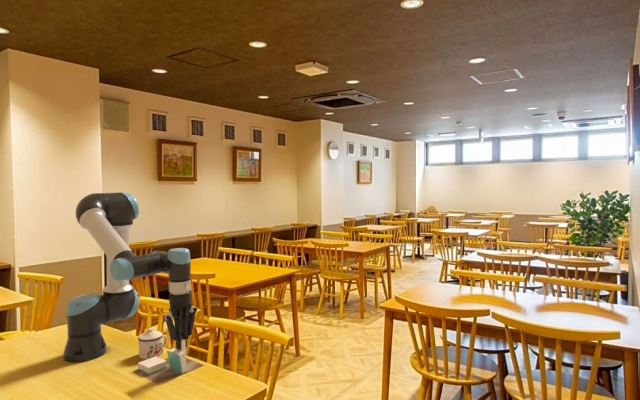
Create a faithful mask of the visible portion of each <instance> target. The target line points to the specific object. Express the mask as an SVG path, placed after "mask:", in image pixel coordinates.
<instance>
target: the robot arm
mask: <svg viewBox="0 0 640 400" xmlns="http://www.w3.org/2000/svg"><path fill="white" fill-rule="evenodd" d="M139 207H140V206H139V203H138V200H137V199H136V197H135V195H133V194H132V193H130V192H121V191H120V192H103V193H102V192H101V193H99V192H97V193H96V192H94V193H89V194H88V195H86V196H84V197H83V198H82V199H81V200H79V202H78V204H77V205H76V208H75V218H76V221H77V223H78V224H79V225H80V227H82V229H84V230H87V231H88V233H89V234H90V235H91V237H92V238H93V239H94V241H95V242H96V243H97V245H98V246H99V248H101V250H102V252H103V253H104V254H105V256H106V286H104V287H103V289H102V295H100V294H99V293H97V292H91V293H83V294H81V295H78V296H75V297H73V298H72V299H70V300H69V301H68V303H67V305H66V312H65V314H66V321H67V323H66V324H67V341H66V343H65V347H64V350H63V357H62V358H63V361H65V362H69V363H70V362H71V363H78V362H87V361H90V360H93V359H97V358H99V357H101V356H103V355H104V354H105V353H106V352H107V343H106V342H105V339H104V336H103V334H102V325H105V324H108V323H112V322H116V321H121V320H126V319H127V318H130V317H133V316H134V315H135V314H136V313H137V311H138V310H139V306H140V297H139V296H138V295H139V293H138V292H137V291H136V290H135V289H134V286H133V285H132V284H131V283H130V280H132V279H137V278H142V277H148V276H153V275H157V274H167V275H168V292H169V294H168V303H169V308H168V312H167V313H166V314H164V315H162V319H164V320H165V323H166V328H167V332H168V335H169V338H170V340H172V341H175V349H177V350H180V351H182V352H185V357H186V358H187V347H188V340H189V338H190V336H192V335H193V330H194V324H195V317H196V313H197V311H198V308H197V307H194V306H193V305H192V303H191V302H192V291H191V290H192V283H191V282H192V281H191V276H192V274H191V268H192V267H191V264H192V263H191V253H190V249H188V247H187V248H185V247H176V248H170V249H168V251H164V250H155V251H152V252H151V253H148V254H147V253H146V254H141V255H136V254H135V253H134V252H133V250H132V249H131V248H130V228H131V227H132V226H133V225H134V220H136V219H137V218H138V216H139V213H140V208H139Z"/></svg>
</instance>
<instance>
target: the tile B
mask: <svg viewBox="0 0 640 400" xmlns="http://www.w3.org/2000/svg"><path fill="white" fill-rule="evenodd" d="M166 354H167V358H168V360H169V365H170V369H171V370H173V371H176V372H178V373H180V374H183V373H185V372H186V371H188V369H187V363H186V358H187V356H186V357H185V352H182V351H180V350H178V349H176V347H175V348H174V347H172V348H170V349H168V350H166ZM183 375H184V374H183Z"/></svg>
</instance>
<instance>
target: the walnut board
mask: <svg viewBox="0 0 640 400" xmlns="http://www.w3.org/2000/svg"><path fill="white" fill-rule="evenodd" d="M162 359H163V360H166V361H167V368H165V369H162V370H160V371H157V372H155V373H152V374H150V375H148V374H146V373H144V372H142V371H140V370H138V368H137V369H135V370H133V372H134V373H135V374H138V375H139V376H142V377H144V378H146V379H148V380H150V381H152V382H154V383H155V384H158V385H162V384H164V383H167V382H169V381H171V380H174V379H176V378H178V377H181V376H183V375H186V374H188V373H190V372H193V371H195V370H197V369H199V368H201V367H205V364H203V363H200V362H197V361H194V360H192V359H190V358H188V357H186V363H187V369H188V371H186V372H185V373H183V374H180V373H178V372H176V371H173V370H171V369H170V365H169V360H168V357H166V358H162Z"/></svg>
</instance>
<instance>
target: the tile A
mask: <svg viewBox="0 0 640 400" xmlns="http://www.w3.org/2000/svg"><path fill="white" fill-rule="evenodd" d="M163 359H164V358H160V356H159V357H156V356H155V357H153V358H150V359H144V360H142V361H139V362H138V363H137V369H138V370H140V371H142V372H144V373H146V374H148V375H150V374H152V373H155V372H157V371H160V370H162V369H165V368H167V361H166V360H163Z"/></svg>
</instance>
